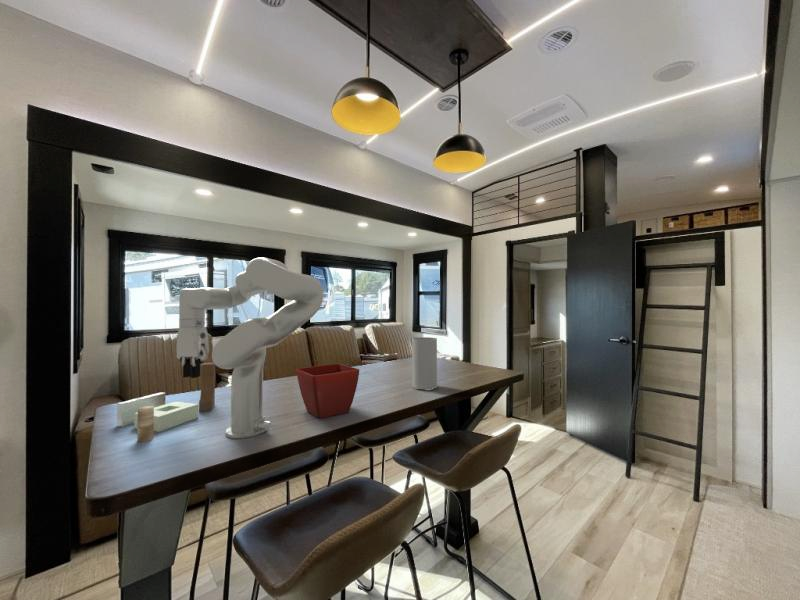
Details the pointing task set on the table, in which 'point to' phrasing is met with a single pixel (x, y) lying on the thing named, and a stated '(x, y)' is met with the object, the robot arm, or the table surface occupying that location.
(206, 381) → the wooden block
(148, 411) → the wooden dowel
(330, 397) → the plant pot
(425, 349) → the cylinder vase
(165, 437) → the table surface
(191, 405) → the socket block
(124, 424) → the backstop board
